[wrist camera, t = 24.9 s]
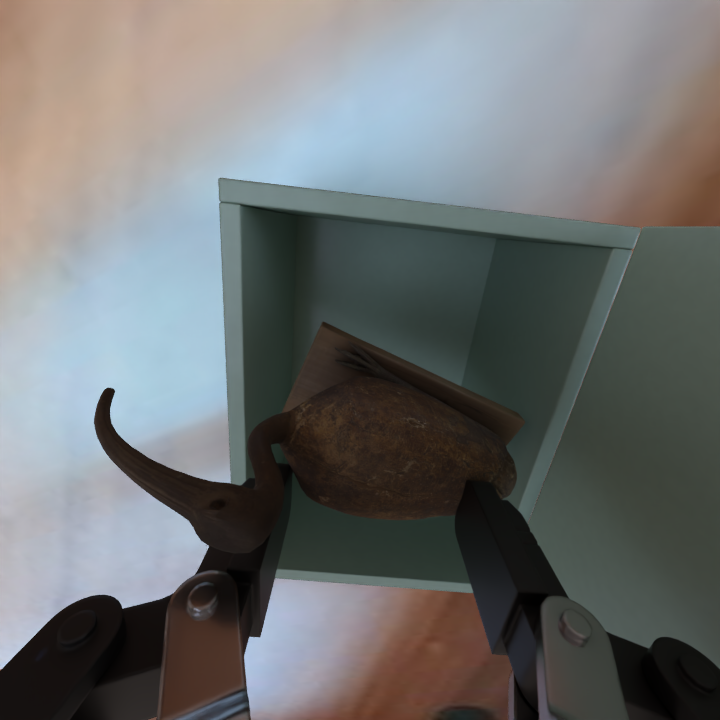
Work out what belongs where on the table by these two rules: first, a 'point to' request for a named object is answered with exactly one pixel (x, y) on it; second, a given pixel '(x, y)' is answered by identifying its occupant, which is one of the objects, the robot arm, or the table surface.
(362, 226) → the chest
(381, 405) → the figurine
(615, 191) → the table surface
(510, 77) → the table surface
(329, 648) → the table surface
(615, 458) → the lid
